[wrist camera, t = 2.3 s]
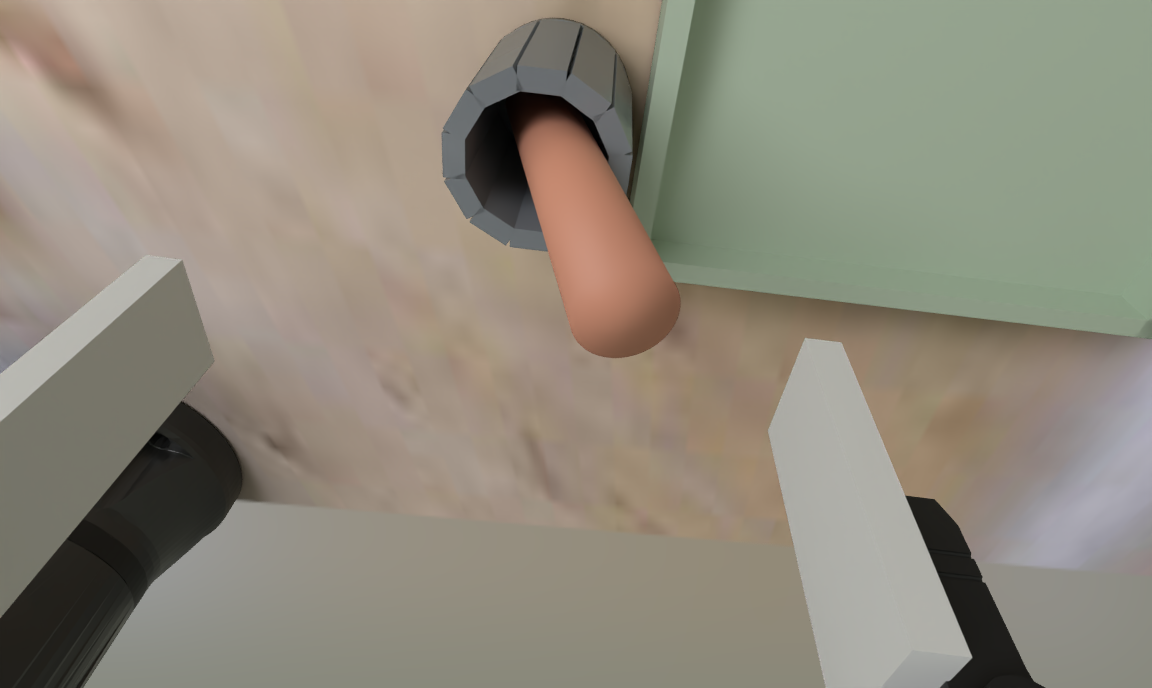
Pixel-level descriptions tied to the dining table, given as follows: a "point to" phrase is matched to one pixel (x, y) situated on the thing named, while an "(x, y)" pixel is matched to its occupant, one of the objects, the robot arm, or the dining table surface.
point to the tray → (907, 155)
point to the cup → (484, 134)
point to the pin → (591, 232)
